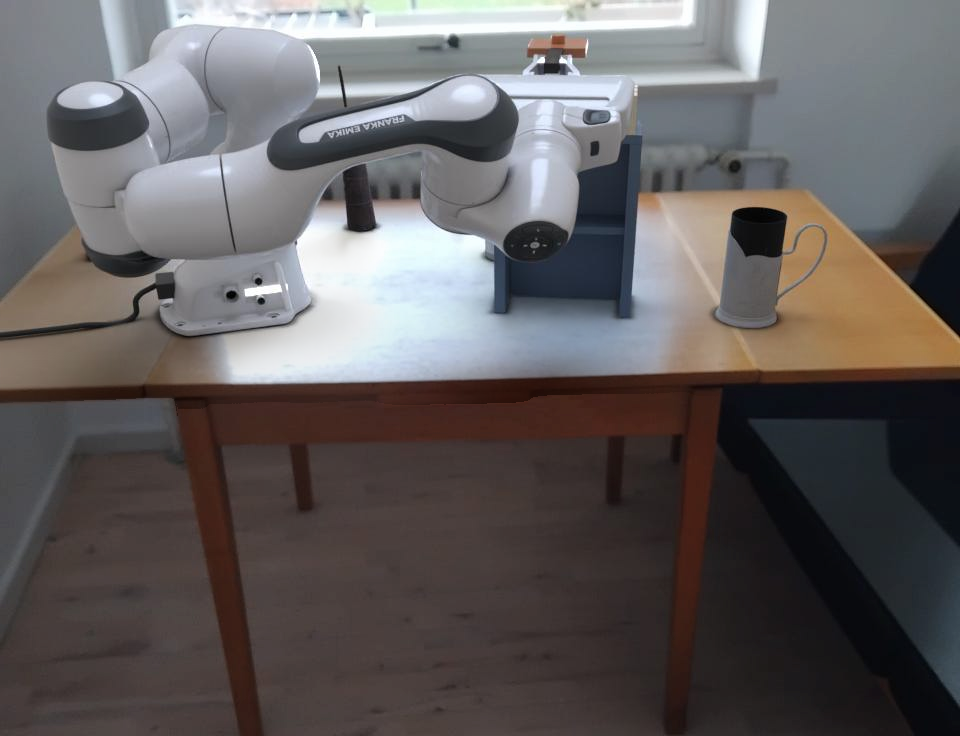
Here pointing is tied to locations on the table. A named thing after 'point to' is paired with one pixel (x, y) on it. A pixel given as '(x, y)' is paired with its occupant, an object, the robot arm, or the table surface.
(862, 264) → the table surface
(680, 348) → the table surface
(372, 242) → the table surface
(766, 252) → the glass holder
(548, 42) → the black orange t-shaped piece
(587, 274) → the shelf
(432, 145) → the robot arm
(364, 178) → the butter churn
